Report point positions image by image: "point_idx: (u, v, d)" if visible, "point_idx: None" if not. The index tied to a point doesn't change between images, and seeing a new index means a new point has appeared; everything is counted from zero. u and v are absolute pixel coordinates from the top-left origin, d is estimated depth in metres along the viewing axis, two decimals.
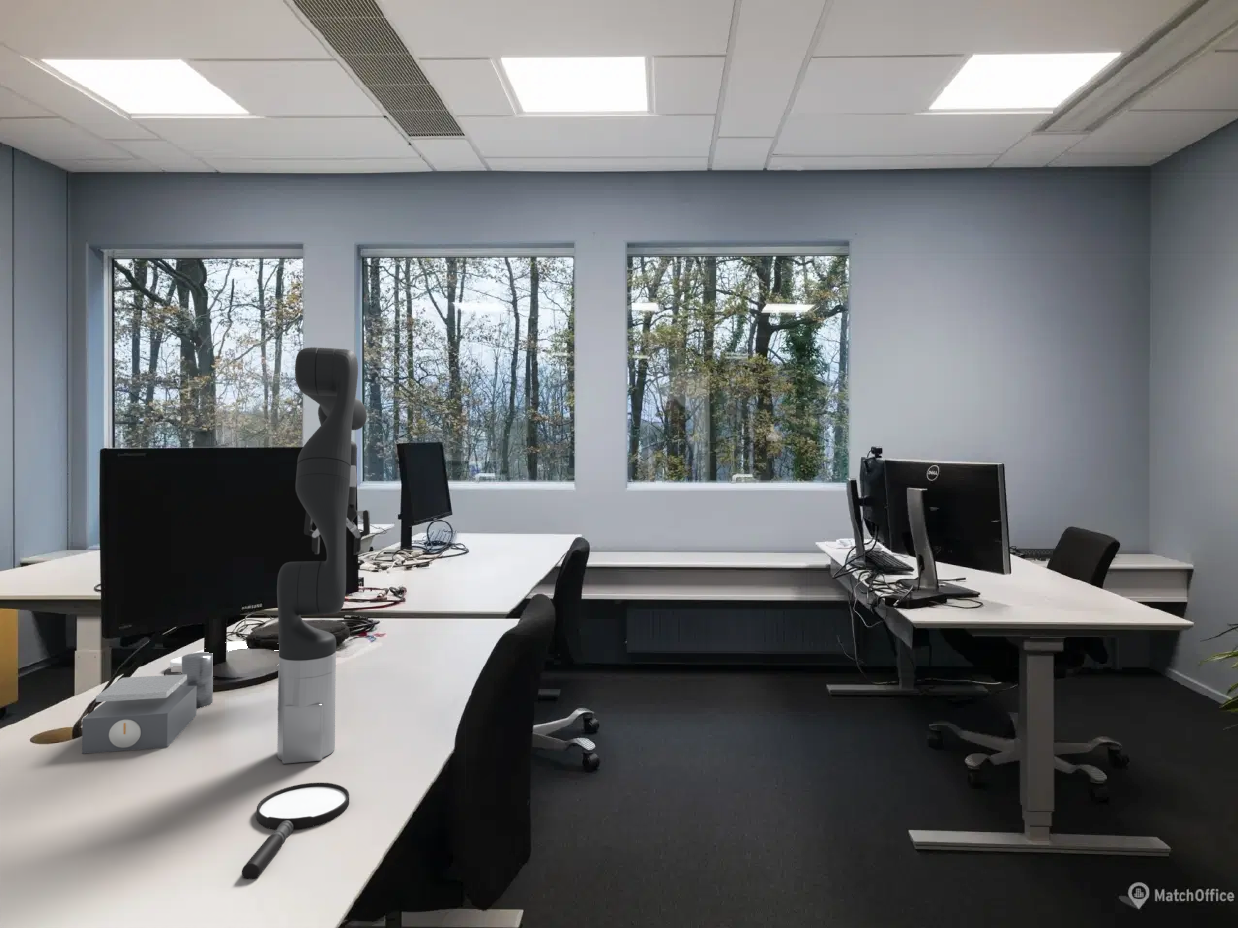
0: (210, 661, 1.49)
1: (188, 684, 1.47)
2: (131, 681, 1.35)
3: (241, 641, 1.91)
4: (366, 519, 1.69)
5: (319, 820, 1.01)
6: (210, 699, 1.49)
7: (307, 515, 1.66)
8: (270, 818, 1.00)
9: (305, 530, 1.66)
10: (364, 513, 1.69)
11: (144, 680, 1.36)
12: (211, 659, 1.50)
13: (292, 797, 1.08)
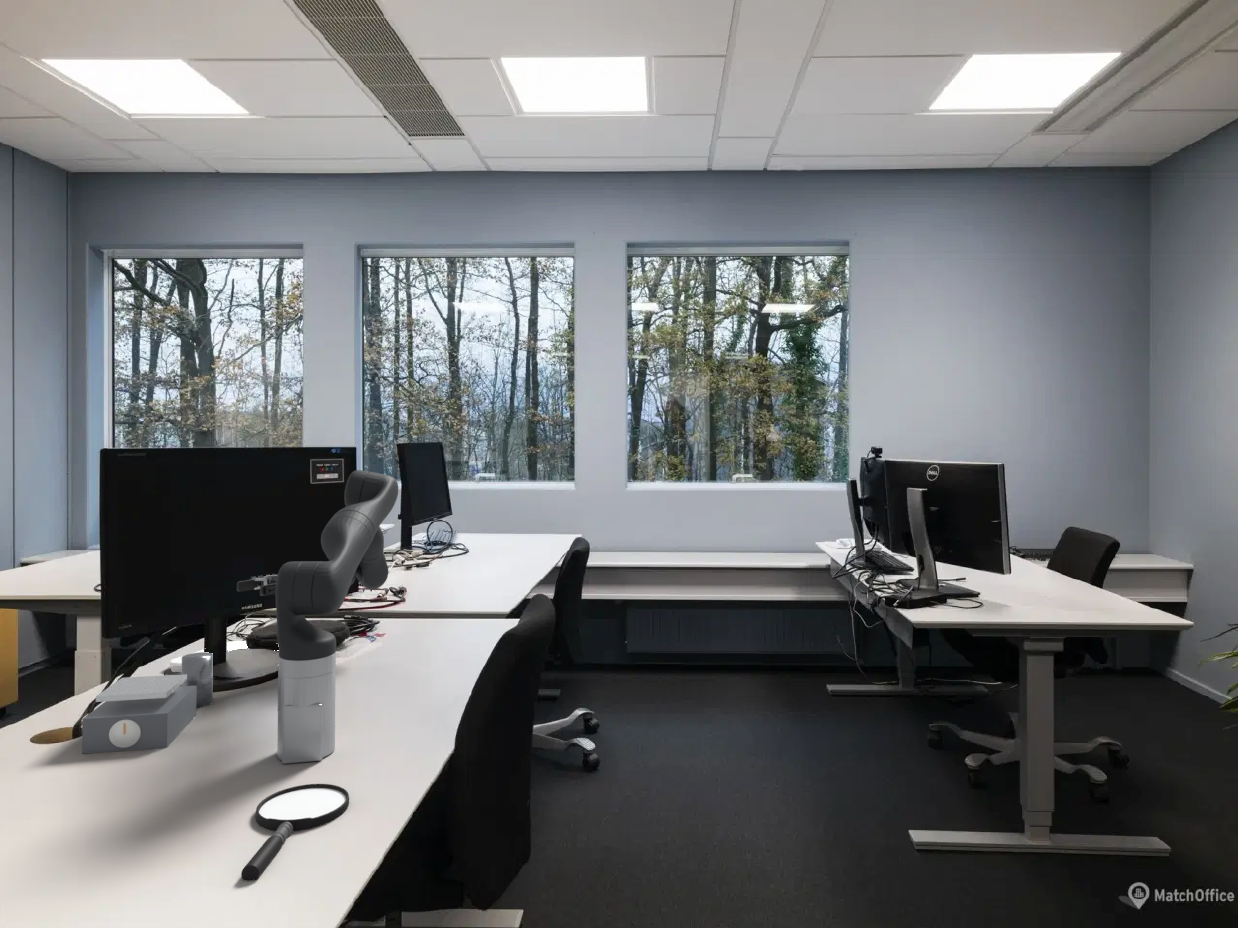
0: (210, 661, 1.49)
1: (188, 684, 1.47)
2: (131, 681, 1.35)
3: (241, 641, 1.91)
4: None
5: (319, 821, 1.01)
6: (210, 699, 1.49)
7: None
8: (270, 819, 1.00)
9: None
10: None
11: (144, 680, 1.36)
12: (211, 659, 1.50)
13: (292, 798, 1.08)
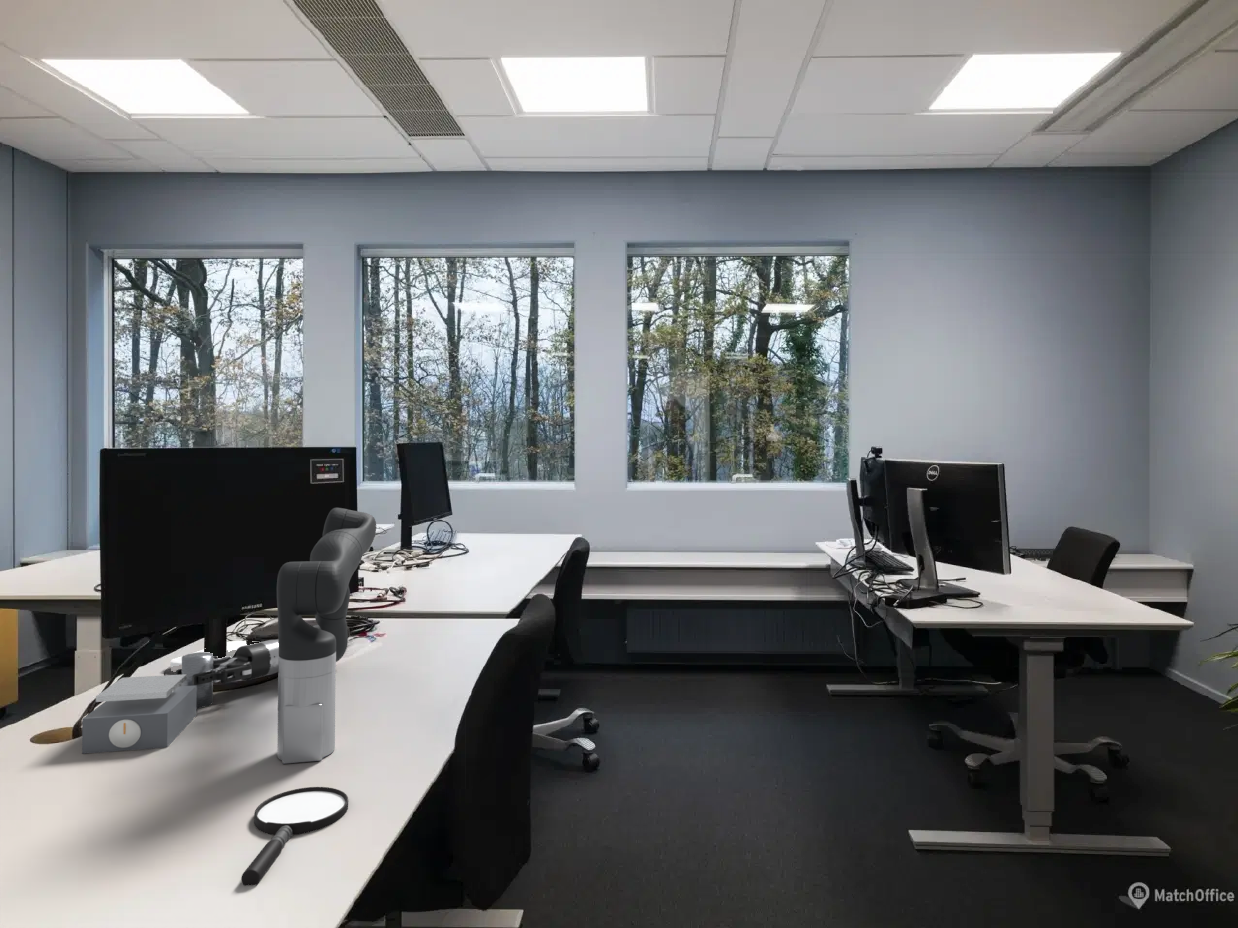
0: (210, 661, 1.49)
1: (188, 684, 1.46)
2: (131, 681, 1.35)
3: (241, 641, 1.91)
4: (240, 667, 1.51)
5: (318, 825, 1.00)
6: (210, 699, 1.49)
7: None
8: (268, 823, 0.99)
9: None
10: (247, 665, 1.52)
11: (144, 680, 1.36)
12: (211, 659, 1.50)
13: (290, 801, 1.07)
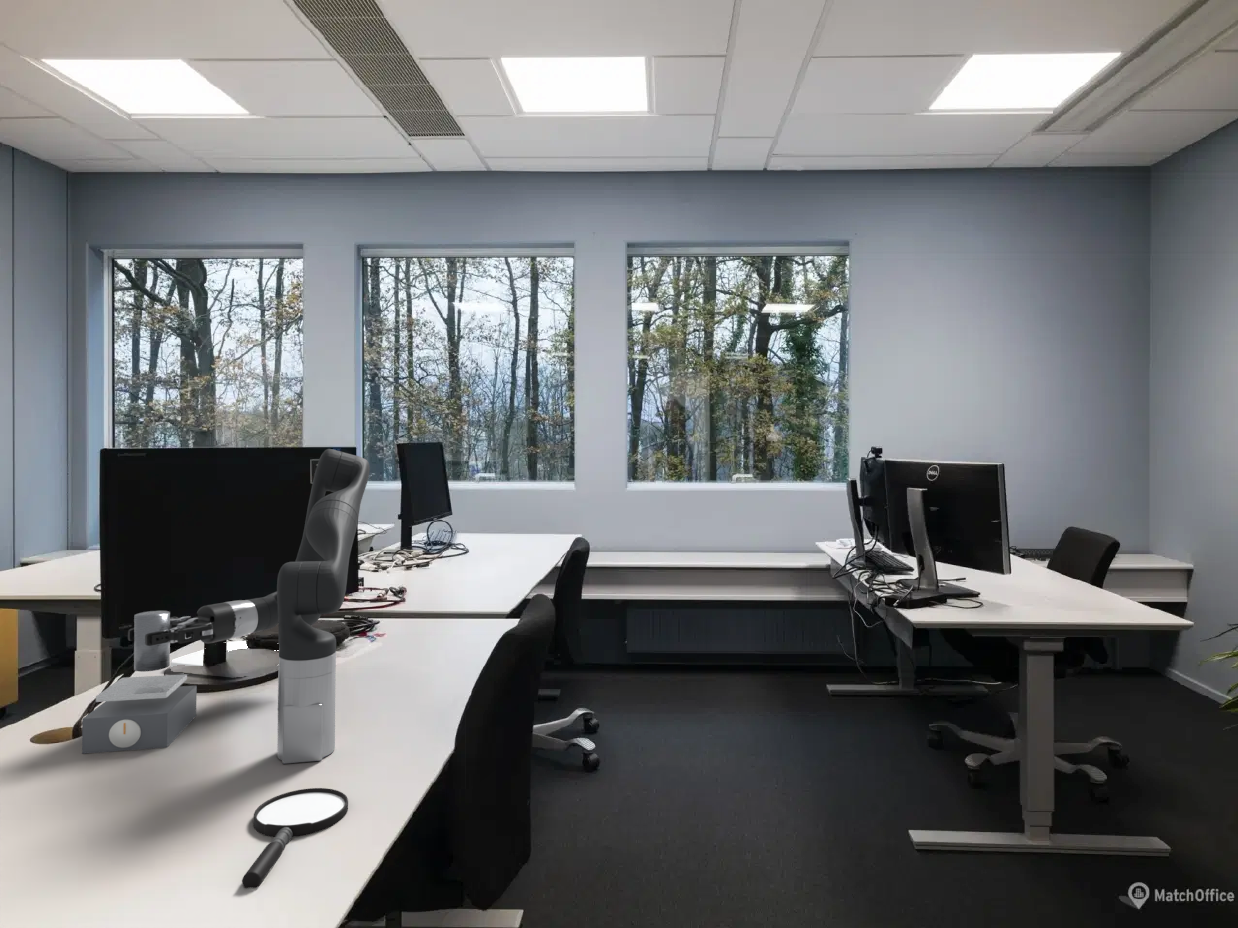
0: (166, 619, 1.35)
1: (141, 644, 1.32)
2: (131, 681, 1.35)
3: (242, 641, 1.91)
4: (200, 626, 1.37)
5: (318, 826, 0.99)
6: (166, 662, 1.35)
7: None
8: (268, 825, 0.98)
9: None
10: (208, 625, 1.38)
11: (144, 680, 1.36)
12: (167, 617, 1.35)
13: (290, 803, 1.06)
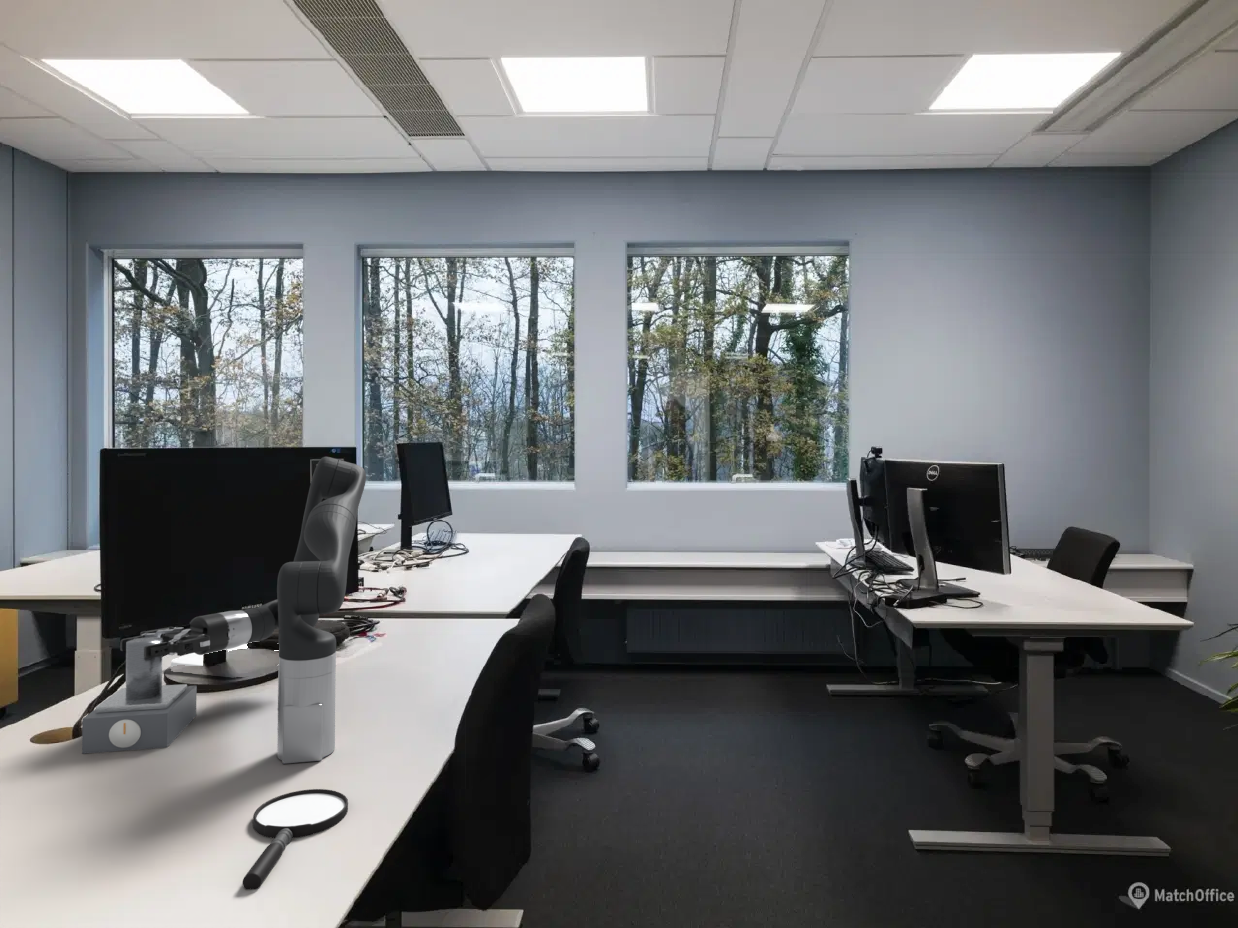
0: None
1: (133, 672, 1.30)
2: None
3: None
4: (198, 638, 1.35)
5: (319, 827, 0.99)
6: (159, 689, 1.33)
7: (165, 628, 1.42)
8: (268, 826, 0.98)
9: (145, 631, 1.40)
10: (204, 636, 1.37)
11: None
12: None
13: (289, 804, 1.06)
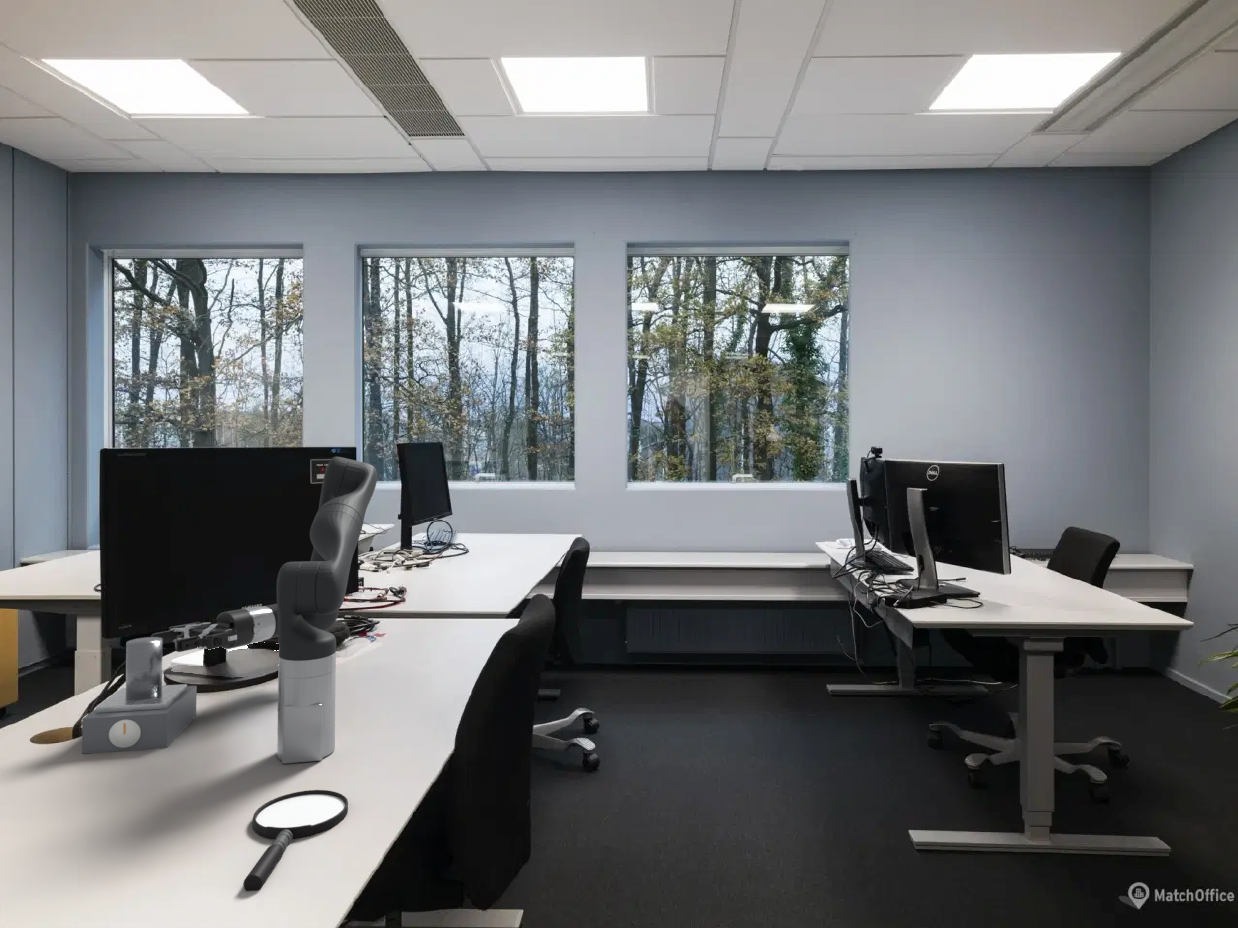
0: (158, 646, 1.33)
1: (133, 672, 1.30)
2: None
3: None
4: (226, 632, 1.40)
5: (319, 828, 0.99)
6: (159, 689, 1.33)
7: (192, 623, 1.47)
8: (268, 828, 0.97)
9: (174, 626, 1.44)
10: (232, 630, 1.41)
11: None
12: (160, 644, 1.34)
13: (289, 805, 1.05)
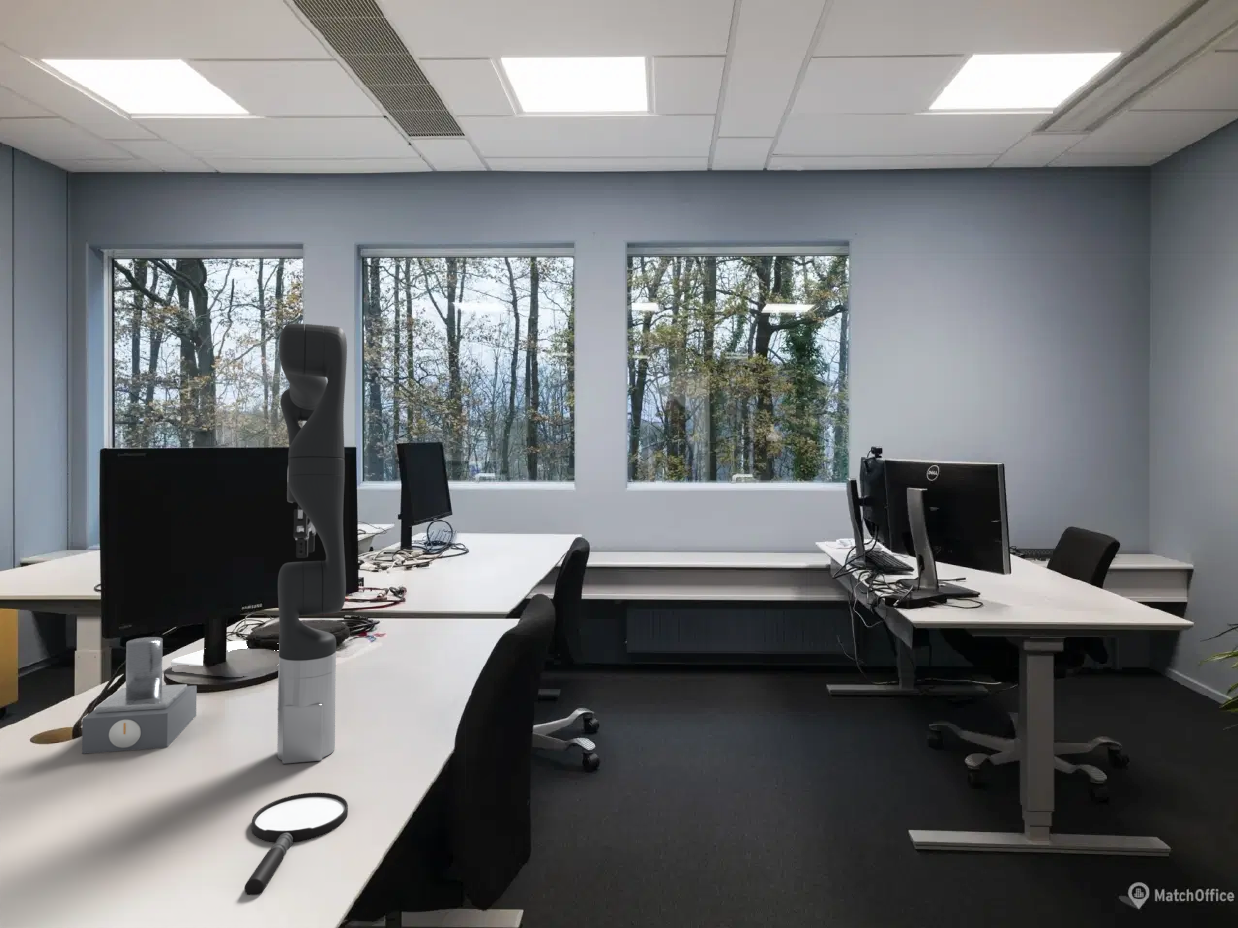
0: (158, 646, 1.33)
1: (133, 672, 1.30)
2: None
3: (242, 641, 1.92)
4: (294, 519, 1.50)
5: (319, 831, 0.98)
6: (159, 689, 1.33)
7: None
8: (268, 831, 0.97)
9: None
10: None
11: None
12: (160, 644, 1.34)
13: (288, 808, 1.05)
